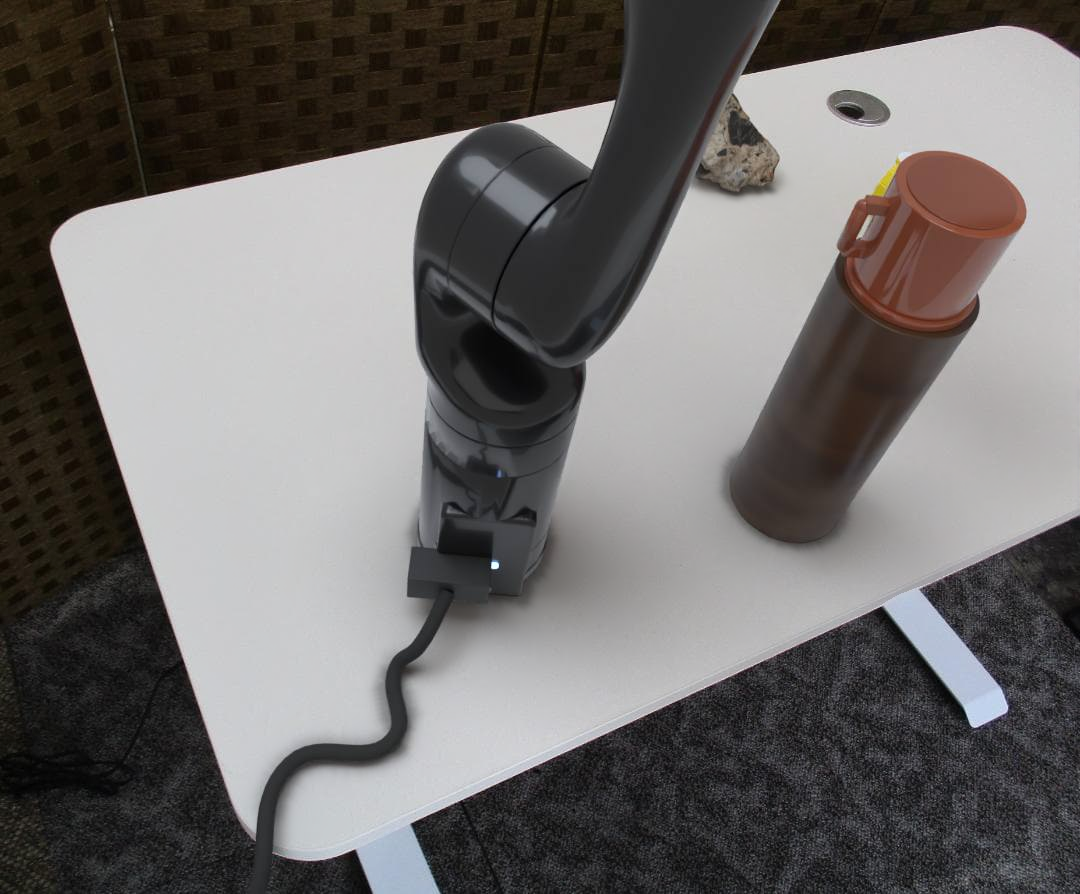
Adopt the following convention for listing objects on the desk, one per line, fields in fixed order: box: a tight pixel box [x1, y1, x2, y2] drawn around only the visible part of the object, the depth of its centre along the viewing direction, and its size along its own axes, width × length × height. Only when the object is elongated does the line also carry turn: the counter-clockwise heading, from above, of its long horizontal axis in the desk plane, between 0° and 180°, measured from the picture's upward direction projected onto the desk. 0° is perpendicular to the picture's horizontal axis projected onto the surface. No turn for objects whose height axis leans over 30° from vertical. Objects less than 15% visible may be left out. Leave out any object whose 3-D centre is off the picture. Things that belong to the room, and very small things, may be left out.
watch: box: [871, 151, 914, 197], centre depth 100 cm, size 6×3×6 cm, turn 126°
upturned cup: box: [836, 150, 1027, 332], centre depth 57 cm, size 8×9×7 cm
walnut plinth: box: [729, 236, 981, 544], centre depth 69 cm, size 9×9×23 cm
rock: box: [695, 91, 781, 192], centre depth 100 cm, size 9×7×10 cm
